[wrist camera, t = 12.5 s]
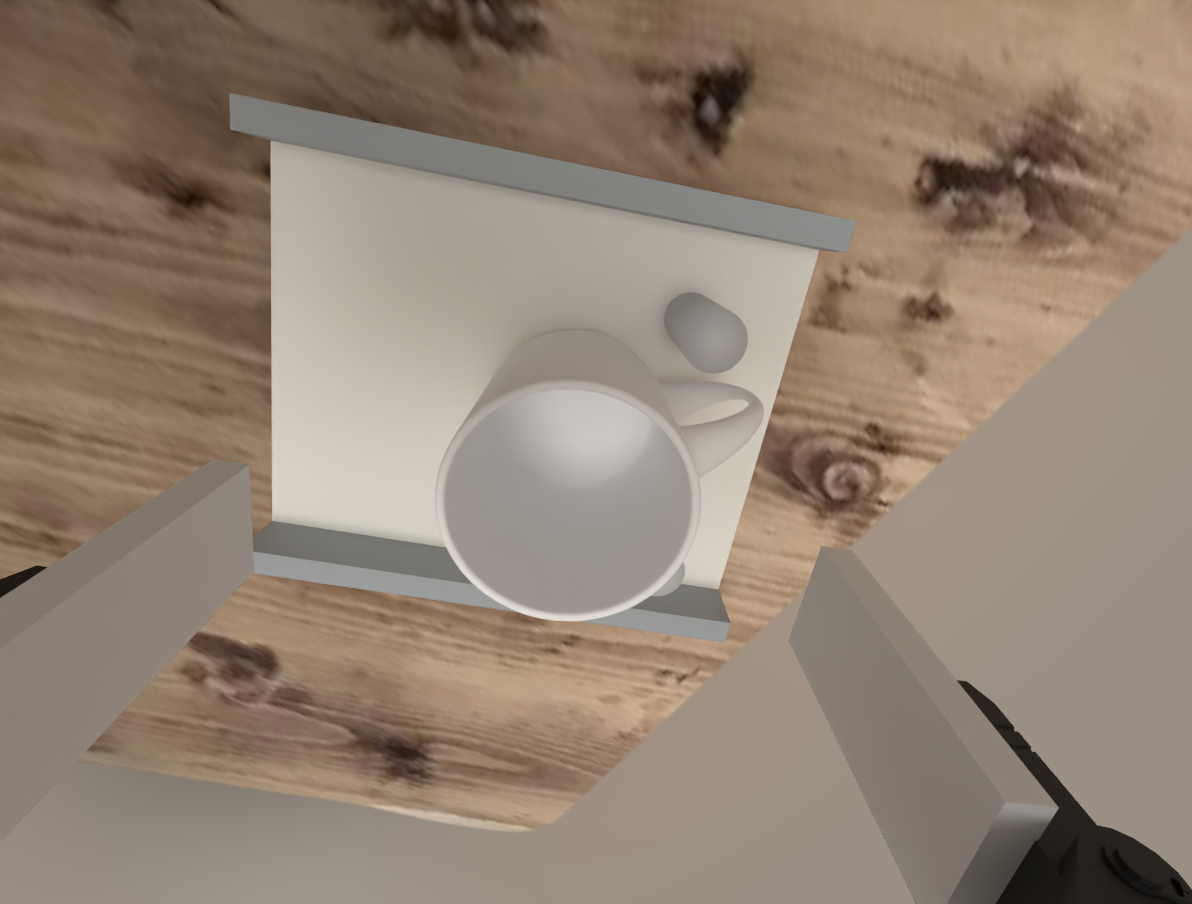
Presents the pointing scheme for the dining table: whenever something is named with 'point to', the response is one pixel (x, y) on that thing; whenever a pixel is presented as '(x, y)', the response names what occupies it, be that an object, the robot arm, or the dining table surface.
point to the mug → (581, 477)
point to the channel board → (492, 332)
